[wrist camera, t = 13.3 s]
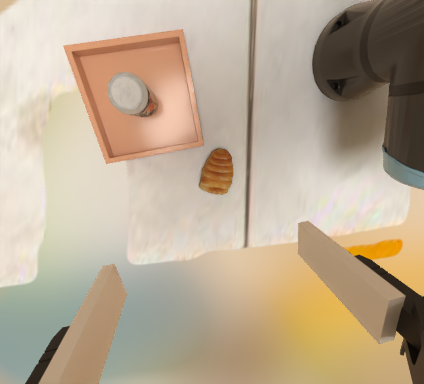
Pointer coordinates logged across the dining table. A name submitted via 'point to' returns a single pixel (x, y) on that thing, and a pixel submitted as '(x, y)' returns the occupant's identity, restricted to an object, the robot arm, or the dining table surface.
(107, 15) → the dining table surface
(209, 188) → the pastry
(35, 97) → the dining table surface
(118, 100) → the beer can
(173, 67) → the terracotta dish
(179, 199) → the dining table surface
